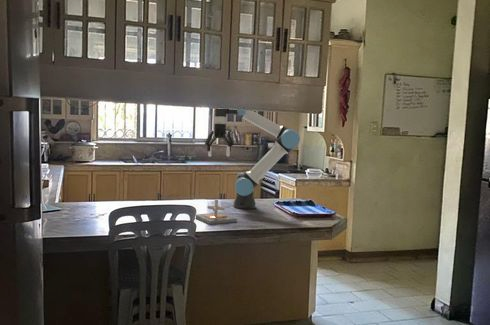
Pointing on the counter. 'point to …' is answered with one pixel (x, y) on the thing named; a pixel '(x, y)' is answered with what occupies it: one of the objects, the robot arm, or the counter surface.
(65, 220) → the counter surface
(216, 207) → the pipe connector
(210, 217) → the plate
